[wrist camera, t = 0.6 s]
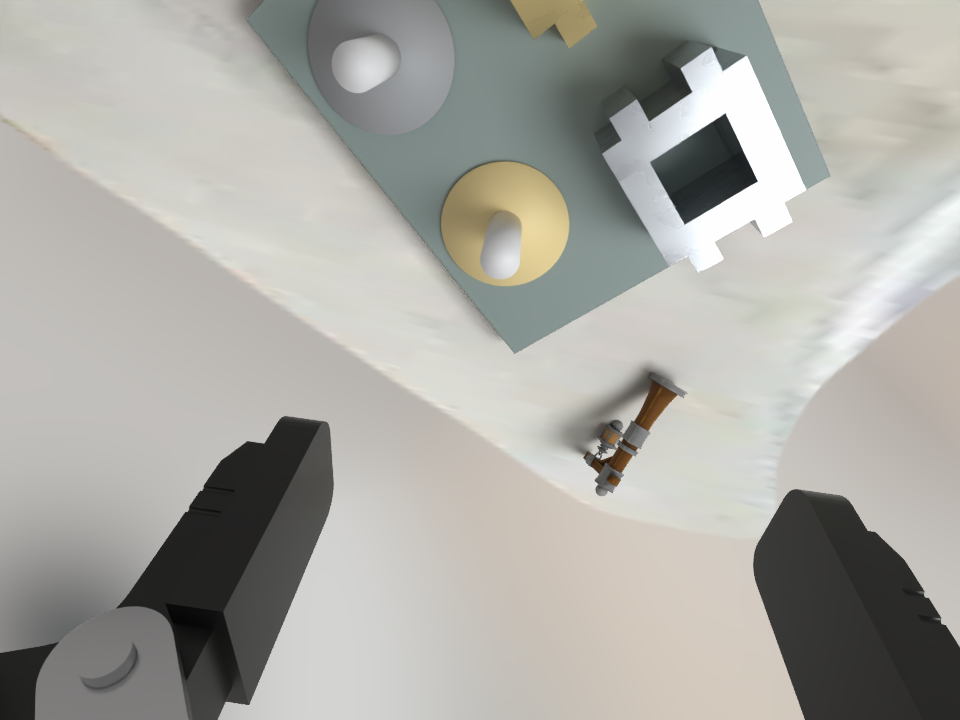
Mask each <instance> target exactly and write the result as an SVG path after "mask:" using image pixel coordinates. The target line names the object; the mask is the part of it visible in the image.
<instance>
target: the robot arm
mask: <svg viewBox="0 0 960 720" xmlns="http://www.w3.org/2000/svg"><path fill="white" fill-rule="evenodd" d="M332 468H333V467H332V453H331V438H330V428H329V425H328V423H327V422H324V421H316V420H309V419H303V418H295V417H288V416H284V417H282V418H281V419H280V420H279V421H278V423H277V424H276V426H275V427H274V429H273V431H272V432H271V434H270V436H269V437H268V439H267V440H266V442H265V443H264V444H262V443H255V442H249V441H247V442H246V443H245V444H243V445H242V446H241V447H239V448H238V449H236V450H235V451H234V452H232V453H231V454H230V455H229V456H227V457H226V458H224V459H223V460H221V462H220V463H219V464H218V466H217V467H216V469H215V470H214V472H213V473H212V475H211V476H210V477H209V479H208V480H207V482H206V483H205V485H204V489H203V491H200V492H199V493H198V495H197V496H196V498H195V499H194V500H193V502H192V504H191V505H190V506H189V511H188V512H185V514H184V515H183V516H182V518H181V519H180V521H179V522H178V524H177V525H176V526H175V528H174V529H173V531H172V532H171V534H170V535H169V537H168V538H167V539H166V541H165V542H164V544H163V545H162V547H161V548H160V550H159V551H158V552H157V554H156V555H155V557H154V558H153V560H152V561H151V562H150V564H149V565H148V567H147V568H146V570H145V571H144V573H143V574H142V575H141V577H140V578H139V580H138V581H137V583H136V584H135V586H134V587H133V588H132V590H131V591H130V593H129V594H128V595H127V597H126V598H125V599H124V600H123V602H122V603H121V604H120V605H119V606H118V607H117V608H116V609H113V610H110V611H107V612H104V613H101V614H99V615H97V616H95V617H93V618H91V619H89V620H87V621H86V622H84V623H82V624H81V625H79V626H78V627H77V628H75V629H74V630H72V631H71V632H70V633H69V634H68V635H66V636H65V637H64V638H63V639H62V640H61V641H60V642H57V643H54V644H49V645H45V646H40V647H34V648H28V649H22V650H16V651H10V652H4V653H0V720H218V717H219V715H220V713H221V710H222V709H223V706H224V704H225V702H233V703H239V704H246V705H249V704H250V701H251V699H252V696H253V694H254V692H255V689H256V687H257V685H258V682H259V680H260V677H261V675H262V673H263V670H264V668H265V665H266V663H267V661H268V658H269V655H270V653H271V651H272V648H273V646H274V644H275V641H276V639H277V637H278V634H279V632H280V629H281V627H282V625H283V622H284V620H285V617H286V615H287V613H288V610H289V608H290V605H291V603H292V600H293V598H294V596H295V593H296V591H297V588H298V586H299V584H300V581H301V579H302V577H303V574H304V572H305V569H306V567H307V565H308V562H309V560H310V557H311V555H312V553H313V550H314V548H315V545H316V543H317V540H318V538H319V535H320V533H321V531H322V529H323V526H324V524H325V521H326V518H327V516H328V513H329V510H330V506H331V502H332V496H333V485H334V484H333V469H332ZM753 568H754V576H755V581H756V584H757V587H758V589H759V592H760V595H761V598H762V600H763V603H764V606H765V609H766V612H767V615H768V617H769V620H770V623H771V626H772V629H773V631H774V634H775V637H776V640H777V643H778V645H779V648H780V651H781V654H782V657H783V659H784V662H785V665H786V668H787V670H788V673H789V676H790V679H791V682H792V685H793V687H794V690H795V693H796V696H797V699H798V701H799V704H800V707H801V710H802V713H803V715H804V718H805V720H960V647H959V645H958V644H957V642H956V641H955V639H954V637H953V636H952V634H951V633H950V631H949V630H948V628H947V627H946V625H942V624H941V617H940V615H939V614H938V612H937V611H936V609H935V607H934V606H933V604H932V603H931V601H930V599H929V598H925V597H924V590H923V588H922V587H921V585H920V584H919V582H918V581H917V579H916V577H915V576H914V574H913V573H912V571H911V570H910V568H909V566H908V565H907V563H906V562H905V560H904V559H903V558H902V557H901V556H900V555H899V554H898V553H897V552H895V551H894V550H893V549H892V548H891V547H890V546H889V545H888V544H887V543H886V542H885V541H884V540H883V539H882V538H881V537H880V536H879V535H878V534H877V533H876V532H871V531H867V529H866V528H865V526H864V524H863V522H862V521H861V519H860V517H859V516H858V514H857V513H856V511H855V509H854V507H853V506H852V504H851V503H850V502H849V501H848V500H847V499H846V498H845V497H843V496H840V495H833V494H826V493H819V492H812V491H805V490H798V489H795V490H791V491H790V492H789V493H788V494H787V495H786V496H785V498H784V499H783V501H782V503H781V505H780V506H779V508H778V510H777V511H776V513H775V515H774V517H773V518H772V520H771V522H770V523H769V525H768V527H767V529H766V530H765V532H764V534H763V535H762V537H761V539H760V541H759V542H758V545H757V546H756V549H755V553H754V562H753Z"/></svg>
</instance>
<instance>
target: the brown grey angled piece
mask: <svg viewBox="0 0 960 720" xmlns="http://www.w3.org/2000/svg"><path fill="white" fill-rule="evenodd" d="M649 378H650V379H652V380H653V383H652V386H651V389H650V391H649V394H648V396H647V398H646V400H645V402H644V404H643V407H642V409H641V411H640V413H639V414H638V416H637V418H636V419H635V421H634V422H633V421H631V423H630V426H629V427H628V429H627V430H626V432H625V433H624V434H623V433H622V432H620V430H621V429H622V428H623V424H622V422H620V421H615V422H614V423H613V427H612V426H610V425H609V424H608V426H607V428H606V430H605V432H604V434H603V435H602V436H601V437H599V436H598V438H599V440H600V442H601V444H600V445H601V447H599V446H597V447H598V449H599V452H598V453H596V454H595V455H593V454H591V453H589V452H587V453H586V455H585V456H584V459H585V461H586V463H587V464H588V465H589V466H591V467H592V468H594V469H595V470H596V471H597V472H598V473H599V476H598V477H597V478H596V479H595V481H596V482H597V483H598V484H599V485H597V487H596V493H597V494H598V495H599V496H605V495H606V494H607V492H608V491H610V492H612V493H613V491H614V488H615V487H617V485H618V484H619V482H620V481H621V480H620V479H621V478H622V477H623V476H624V475H623V474H622V471H623V470H624V468H625V467H626V465H627V464H628V462H629V461H630V459H631V458H632V456H635V457H636V455H637V454H638V452H636V450H637V449H638V448H639V449H641V447H642V444H643V442H644V441H645V439H646V438H647V436H648V435H649V434H650V432H649V429H650V428H651V426H652V424H653V423H654V421H655V420H656V419H657V418H658V417H659V415H660V414H661V413H662V412H663V410H664V409H665V408H666V407H667V405H668V404H669V403H670V402H671V401H672V400H673V399H674V398H675V397H676V396H677V395H679V396H681V397H683V398H684V396H685V394H687V392H685V391H683V390H682V389H680V388H678V387H677V386H675V385H673V384H672V383H670V382H668V381H667V380H665V379H663V378H662V377H660V376H658V375H656V374H654V373H652V372H651V374H650V376H649ZM620 437H623V440H622V442H621V441H620V440H619V439H620ZM618 440H619V442H618V443H617V441H618ZM616 443H617V445H618V446H619V447H618V449H617V448H616V447H615V444H616ZM608 448H610V449H615V450H616V449H617V450H616V452H615V454H614V455H613V456H612V457H609V458H606V459H604V460H600V459H601V458H602V453H607V452H606V450H608ZM600 452H601V453H600ZM597 454H599V455H601V457H600V458H597V457H596V455H597Z"/></svg>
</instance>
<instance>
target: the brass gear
mask: <svg viewBox="0 0 960 720" xmlns="http://www.w3.org/2000/svg"><path fill="white" fill-rule="evenodd" d="M510 1H511V2H512V4H513V6H514V7H515V9H516V11H517V12H518V14H519V16H520V17H521V19H522V21H523V22H524V24H525V26H526V27H527V29H528V31H529V32H530V34H531V36H532V37H533V39H534V40H535V39H536V38H537V37H538V36H540V35H541V34H542V33H543V32H545V31H546V30H547V29H548V28H550V27H551V26H552V25H553V24H554V23H555V25H556V27H557V29H558V30H559V32H560V34H561V36H562V37H563V39H564V41H565V43H566V44H567V46H568V48H570V47H572V46H573V45H574V44H576V43H577V42H578V41H579V40H581V39H582V38H583V37H585V36H586V35H587V34H588V33H590V32H591V31H592V30H593V29H595V28H596V27H597V25H596V23H595V21H594V19H593V17H592V15H591V14H590V12H589V10H588V8H587V6H586V4H585V3H584V1H583V0H510Z"/></svg>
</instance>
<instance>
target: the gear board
mask: <svg viewBox="0 0 960 720" xmlns="http://www.w3.org/2000/svg"><path fill="white" fill-rule="evenodd" d="M583 1H584V3H585V4H586V6H587V8H588V10H589V12H590V14H591V15H592V17H593V19H594V21H595V23H596V25H597V27H596V28H595V29H593V30H592V31H591V32H590V33H588V34H587V35H586V36H585V37H583V38H582V39H581V40H579V41H578V42H577V43H576V44H574V45H573V46H572V47H570V48H568V46H567V44H566V43H565V41H564V39H563V37H562V36H561V34H560V32H559V30H558V29H557V27H556V25H555V23H554V24H553V25H552V26H551V27H550V28H548V29H547V30H546V31H545V32H543V33H542V34H541V35H540V36H538V37H537V38H536V39H535V40H534V39H533V37H532V36H531V34H530V32H529V31H528V29H527V27H526V26H525V24H524V22H523V21H522V19H521V17H520V16H519V14H518V12H517V11H516V9H515V7H514V6H513V4H512V2H511V1H510V0H264V1H263V2H262V3H261V4H260V6H259V7H258V8H257V9H256V10H255V11H254V12H253V13H252V14H251V15H250V16H249V17H248V19H247V22H248V23H249V24H250V25H251V27H252V28H253V29H254V30H255V32H256V33H257V34H258V35H259V37H260V38H261V39H262V40H263V42H264V43H265V44H266V45H267V47H268V48H269V49H270V50H271V52H272V53H273V54H274V55H275V57H276V58H277V59H278V60H279V61H280V63H281V64H282V65H283V66H284V68H285V69H286V70H287V71H288V73H289V74H290V75H291V76H292V78H293V79H294V80H295V81H296V83H297V84H298V85H299V86H300V88H301V89H302V90H303V91H304V93H305V94H306V95H307V96H308V98H309V99H310V100H311V101H312V103H313V104H314V105H315V106H316V107H317V109H318V110H319V111H320V112H321V114H322V115H323V116H324V117H325V119H326V120H327V121H328V122H329V124H330V125H331V126H332V127H333V129H334V130H335V131H336V132H337V134H338V135H339V136H340V137H341V139H342V140H343V141H344V142H345V144H346V145H347V146H348V147H349V149H350V150H351V151H352V152H353V154H354V155H355V156H356V157H357V158H358V160H359V161H360V162H361V163H362V165H363V166H364V167H365V168H366V170H367V171H368V172H369V173H370V175H371V176H372V177H373V178H374V180H375V181H376V182H377V183H378V185H379V186H380V187H381V188H382V190H383V191H384V192H385V193H386V195H387V196H388V197H389V198H390V200H391V201H392V202H393V203H394V204H395V206H396V207H397V208H398V209H399V211H400V212H401V213H402V214H403V216H404V217H405V218H406V219H407V221H408V222H409V223H410V224H411V226H412V227H413V228H414V229H415V231H416V232H417V233H418V234H419V236H420V237H421V238H422V239H423V241H424V242H425V243H426V244H427V246H428V247H429V248H430V249H431V250H432V252H433V253H434V254H435V255H436V257H437V258H438V259H439V260H440V262H441V263H442V264H443V265H444V267H445V268H446V269H447V270H448V272H449V273H450V274H451V275H452V277H453V278H454V279H455V280H456V282H457V283H458V284H459V285H460V287H461V288H462V289H463V290H464V292H465V293H466V294H467V295H468V297H469V298H470V299H471V300H472V301H473V303H474V304H475V305H476V306H477V308H478V309H479V310H480V311H481V313H482V314H483V315H484V316H485V318H486V319H487V320H488V321H489V323H490V324H491V325H492V326H493V328H494V329H495V330H496V331H497V333H498V334H499V335H500V336H501V338H502V339H503V340H504V341H505V343H506V344H507V345H508V346H509V347H510V349H511V350H512V351H513V352H514V354H515V353H517V352H519V351H520V350H522V349H524V348H526V347H527V346H529V345H531V344H533V343H535V342H536V341H538V340H540V339H542V338H543V337H545V336H547V335H549V334H551V333H552V332H554V331H556V330H558V329H559V328H561V327H563V326H565V325H567V324H568V323H570V322H572V321H574V320H575V319H577V318H579V317H581V316H583V315H584V314H586V313H588V312H590V311H591V310H593V309H595V308H597V307H599V306H600V305H602V304H604V303H606V302H607V301H609V300H611V299H613V298H614V297H616V296H618V295H620V294H622V293H623V292H625V291H627V290H629V289H630V288H632V287H634V286H636V285H638V284H639V283H641V282H643V281H645V280H646V279H648V278H650V277H652V276H654V275H655V274H657V273H659V272H661V271H662V270H664V269H666V268H668V267H669V265H668V264H667V262H666V260H665V259H664V257H663V255H662V254H661V252H660V250H659V249H658V247H657V245H656V244H655V242H654V240H653V239H652V237H651V235H650V234H649V232H648V230H647V229H646V227H645V225H644V224H643V222H642V220H641V219H640V217H639V215H638V214H637V212H636V210H635V208H634V207H633V205H632V203H631V202H630V200H629V198H628V197H627V195H626V193H625V192H624V190H623V188H622V187H621V185H620V183H619V182H618V180H617V178H616V177H615V175H614V173H613V172H612V170H611V168H610V167H609V165H608V163H607V162H606V160H605V158H604V157H603V155H602V153H601V150H600V148H599V145H598V143H597V141H596V138H595V136H594V133H596V132H597V131H598V130H600V129H601V128H603V127H604V126H606V125H607V124H608V123H610V122H611V121H610V119H609V118H608V116H607V114H606V112H605V111H604V109H603V107H602V105H601V104H600V102H601V101H603V100H604V99H606V98H607V97H608V96H610V95H611V94H613V93H614V92H615V91H617V90H618V89H619V88H621V87H622V86H625V87H626V88H627V89H628V91H629V92H630V93H631V94H632V95H633V96H634V97H635V98H636V99H637V100H638V102H640V101H641V100H643V99H644V98H646V97H647V96H648V95H650V94H651V93H653V92H654V91H656V90H657V89H658V88H660V87H661V86H663V85H664V84H666V83H667V82H668V81H670V80H671V77H670V75H669V73H668V72H667V70H666V68H665V66H664V64H663V62H662V60H661V58H662V57H664V56H665V55H667V54H668V53H669V52H671V51H672V50H674V49H675V48H676V47H678V46H679V45H680V44H682V43H683V42H685V41H686V40H690V41H693V42H696V43H700V44H703V45H707V46H710V47H712V49H713V50H714V49H716V48H717V47H718V48H722V49H726V50H729V51H733V52H736V53H740V54H743V55H747V57H748V60H749V62H750V64H751V66H752V69H753V71H754V73H755V76H756V78H757V80H758V82H759V85H760V87H761V89H762V91H763V94H764V96H765V98H766V101H767V103H768V105H769V107H770V110H771V112H772V114H773V117H774V119H775V121H776V123H777V126H778V128H779V130H780V132H781V135H782V137H783V139H784V142H785V144H786V146H787V148H788V151H789V153H790V155H791V158H792V160H793V162H794V164H795V167H796V169H797V171H798V173H799V176H800V178H801V180H802V183H803V185H804V187H805V189H808V188H810V187H812V186H813V185H815V184H817V183H819V182H820V181H822V180H824V179H826V178H828V177H829V176H830V173H829V171H828V168H827V166H826V163H825V161H824V159H823V156H822V154H821V151H820V149H819V146H818V144H817V142H816V139H815V137H814V134H813V132H812V130H811V127H810V125H809V122H808V120H807V117H806V115H805V113H804V110H803V108H802V105H801V103H800V100H799V98H798V96H797V93H796V91H795V88H794V86H793V83H792V81H791V79H790V76H789V74H788V71H787V69H786V66H785V64H784V62H783V59H782V57H781V54H780V52H779V49H778V47H777V45H776V42H775V40H774V37H773V35H772V33H771V30H770V28H769V25H768V23H767V20H766V18H765V16H764V13H763V11H762V8H761V6H760V3H759V1H758V0H583ZM729 158H730V157H729V155H728V153H727V151H726V148H725V146H724V144H723V142H722V140H721V138H720V136H719V134H718V132H717V130H716V128H715V126H714V124H713V122H711V123H709V124H708V125H706V126H705V127H703V128H702V129H700V130H699V131H697V132H696V133H694V134H693V135H691V136H689V137H688V138H686V139H685V140H683V141H682V142H680V143H679V144H677V145H676V146H674V147H673V148H671V149H669V150H668V151H666V152H665V153H663V154H662V155H660V156H659V157H657V158H656V159H654V160H652V161H651V162H650V164H651V166H652V167H653V169H654V171H655V173H656V175H657V176H658V178H659V180H660V182H661V184H662V185H663V187H664V189H665V191H666V192H667V194H668V196H669V195H671V194H672V193H674V192H676V191H677V190H679V189H681V188H682V187H684V186H685V185H687V184H689V183H690V182H692V181H694V180H695V179H697V178H698V177H700V176H702V175H703V174H705V173H707V172H708V171H710V170H711V169H713V168H715V167H716V166H718V165H720V164H721V163H723V162H724V161H726V160H728V159H729Z"/></svg>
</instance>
